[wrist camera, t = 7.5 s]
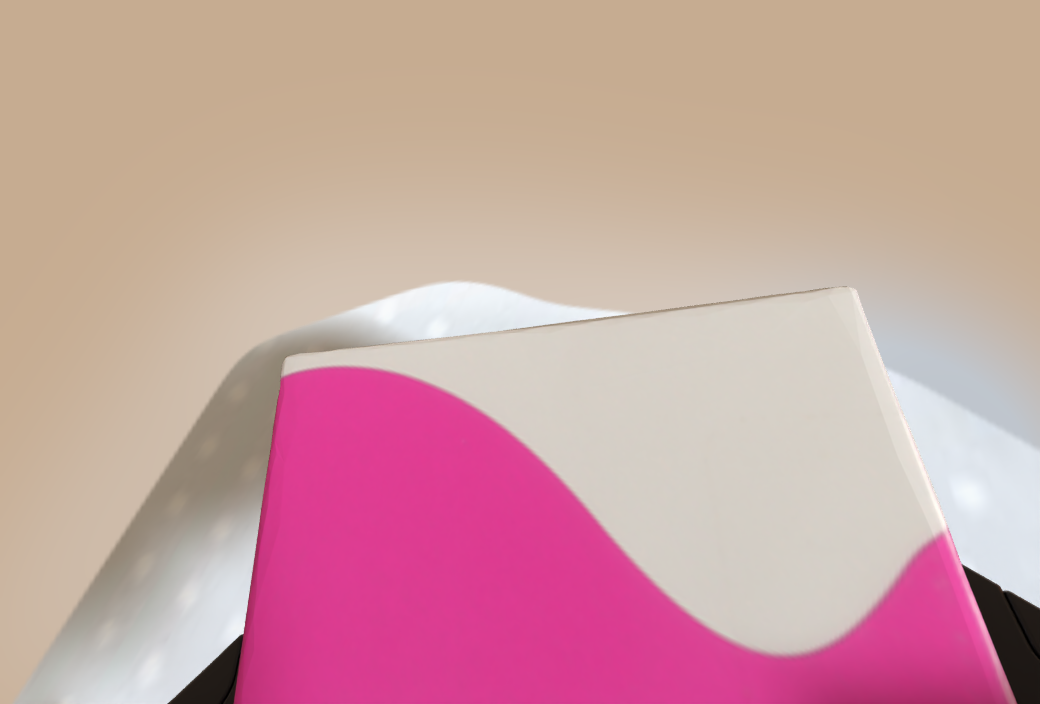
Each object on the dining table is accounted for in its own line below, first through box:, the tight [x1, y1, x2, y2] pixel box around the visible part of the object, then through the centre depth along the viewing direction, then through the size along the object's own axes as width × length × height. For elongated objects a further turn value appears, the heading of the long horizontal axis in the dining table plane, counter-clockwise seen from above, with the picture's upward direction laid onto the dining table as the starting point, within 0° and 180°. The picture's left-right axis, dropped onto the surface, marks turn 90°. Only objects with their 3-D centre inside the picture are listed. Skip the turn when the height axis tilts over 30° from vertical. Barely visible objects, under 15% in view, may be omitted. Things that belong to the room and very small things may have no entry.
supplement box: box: [234, 286, 1017, 704], centre depth 8 cm, size 6×6×12 cm
